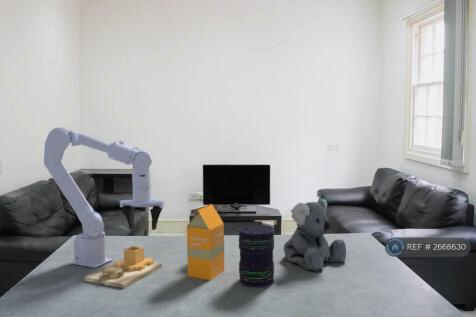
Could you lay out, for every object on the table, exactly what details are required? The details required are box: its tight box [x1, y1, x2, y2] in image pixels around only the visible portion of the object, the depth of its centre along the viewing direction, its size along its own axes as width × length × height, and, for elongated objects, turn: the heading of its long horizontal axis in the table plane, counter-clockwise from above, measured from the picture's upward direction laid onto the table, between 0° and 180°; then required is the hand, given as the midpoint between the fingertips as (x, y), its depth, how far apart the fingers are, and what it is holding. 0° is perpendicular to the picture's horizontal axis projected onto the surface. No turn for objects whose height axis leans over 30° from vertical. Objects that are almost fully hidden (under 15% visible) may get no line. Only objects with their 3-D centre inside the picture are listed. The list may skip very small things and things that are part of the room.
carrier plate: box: [83, 257, 162, 289], centre depth 133 cm, size 14×18×4 cm
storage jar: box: [238, 224, 275, 289], centre depth 126 cm, size 10×10×15 cm
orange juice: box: [186, 203, 225, 281], centre depth 132 cm, size 8×9×20 cm
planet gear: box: [115, 245, 155, 271], centre depth 137 cm, size 10×10×5 cm
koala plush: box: [283, 198, 347, 272], centre depth 142 cm, size 17×18×20 cm
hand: (143, 228), depth 147 cm, fingers open, 7 cm apart
